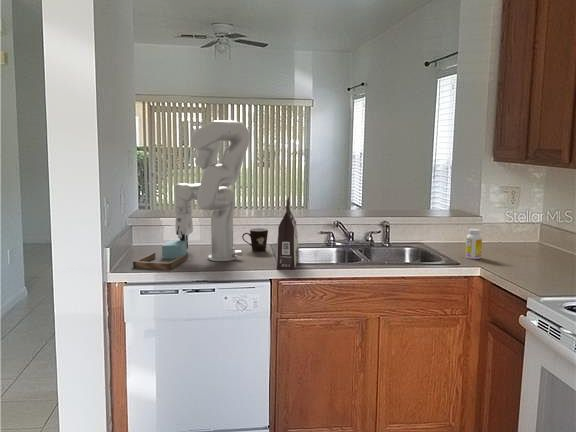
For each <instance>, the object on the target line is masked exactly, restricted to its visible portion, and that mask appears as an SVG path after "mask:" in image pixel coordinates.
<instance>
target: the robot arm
mask: <svg viewBox="0 0 576 432" xmlns="http://www.w3.org/2000/svg"><path fill="white" fill-rule="evenodd" d="M223 142H230V143H229V145H227V147H226V148H225V150H224V152H223V155H222V159H221V161H220V163H216V161H217V159H218V156H219V152H220V150H221V148H222V144H223ZM190 144H191V145H190V146H191V147H192V148H193V149H194V150H196V151H197V154H196V157H195V160H194V163H195V165H196V166H197V167H198V168H199V169H201V170H203V174H202V177H201V180H200V183H199V182H198V183H186V182H185V183H184V182H183V183H182V182H179V183H176V184H175V185H174V213H175V235H177V238H178V239H179V241H187V250H189V236H190V234H193V232H194V228H193V226H194V224H193V217H192V212H193V211H192V202H194V201H197V205H198V207H199V208H200V209H201V210H203V211H212V214H211V218H210V219H211V220H210V231H211V233H210V235H211V237H210V239H211V240H210V241H211V243H210V245H211V254H209V255H208V256H207V259H208V260H210V261H214V262H230V261H235V260H236V259H237V258H238V256H239V257H241V256H243V251H242V250H236V247H234V209H235V203H236V195H235V192H234V190H233V189H232V188H230V187H229V186H233V185H235V184H236V183H237V181H238V179H239V176H240V172H241V169H242V165H243V162H244V158H245V155H246V152H247V150H248V148H249V145H250V132H249V129H248V128H247V126H246V125H245V124H244V123H242V122H241V121H237V120H225V119H224V120H223V119H222V120H221V119H218V120H212V121H210V122H209V123H206V124H205V125H203V126H202V127H200V128H198V129H196V130H195V131H194V132H193V134H192V135H191V139H190Z"/></svg>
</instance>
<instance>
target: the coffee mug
mask: <svg viewBox="0 0 576 432" xmlns="http://www.w3.org/2000/svg"><path fill="white" fill-rule="evenodd" d="M268 234H269V229H267V228H264V227H262V228H261V227H260V228H259V227H258V228H257V227H256V228H251V229H249V232H244V233H243V234H242V236H241V238H242V240H243V241H244V242H245V243H246V244H248V245H250V246H251V250H252V252H254V253H255V252H256V253H264V252H266V250H267V243H268ZM245 235H248V236H249V237H250V242H248V241H247V240H245V238H244V236H245Z"/></svg>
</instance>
